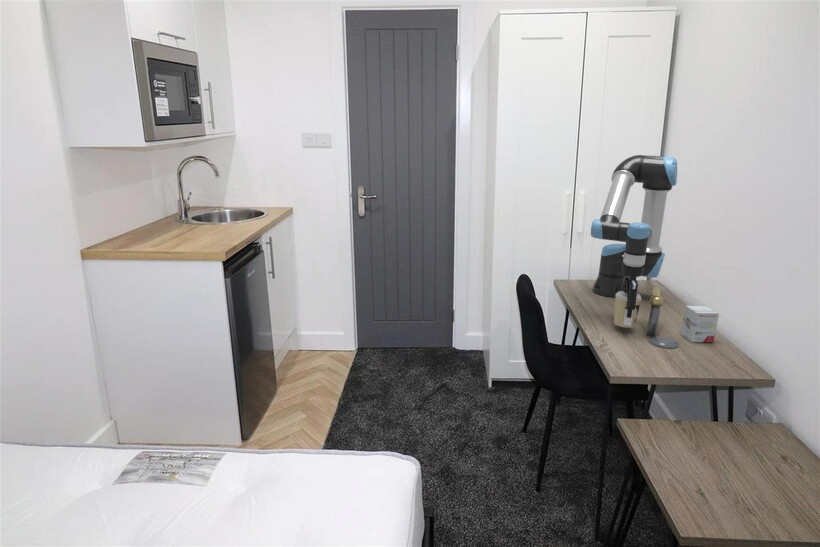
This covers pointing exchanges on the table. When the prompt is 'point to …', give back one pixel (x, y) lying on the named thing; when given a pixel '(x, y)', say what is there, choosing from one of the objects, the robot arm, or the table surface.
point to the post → (653, 320)
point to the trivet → (663, 342)
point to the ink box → (699, 324)
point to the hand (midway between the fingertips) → (624, 320)
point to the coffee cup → (620, 311)
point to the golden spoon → (656, 297)
